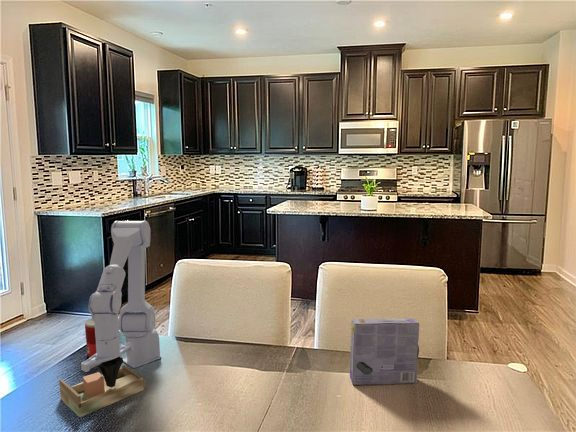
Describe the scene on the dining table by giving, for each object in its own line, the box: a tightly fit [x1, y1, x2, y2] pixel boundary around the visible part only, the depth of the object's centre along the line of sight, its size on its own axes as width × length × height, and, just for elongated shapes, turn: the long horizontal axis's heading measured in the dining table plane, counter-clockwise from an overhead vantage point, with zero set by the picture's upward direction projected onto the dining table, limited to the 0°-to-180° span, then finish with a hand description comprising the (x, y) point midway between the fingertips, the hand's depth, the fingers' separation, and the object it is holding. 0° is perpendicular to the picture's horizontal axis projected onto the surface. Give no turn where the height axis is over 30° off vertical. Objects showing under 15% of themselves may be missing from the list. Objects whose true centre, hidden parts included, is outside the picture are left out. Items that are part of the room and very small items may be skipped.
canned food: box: [84, 318, 96, 358], centre depth 141 cm, size 8×8×11 cm
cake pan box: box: [349, 317, 420, 386], centre depth 122 cm, size 19×5×18 cm, turn 94°
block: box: [82, 371, 105, 398], centre depth 113 cm, size 4×4×4 cm
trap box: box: [58, 364, 147, 418], centre depth 117 cm, size 18×12×5 cm
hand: (110, 385), depth 115 cm, fingers closed
